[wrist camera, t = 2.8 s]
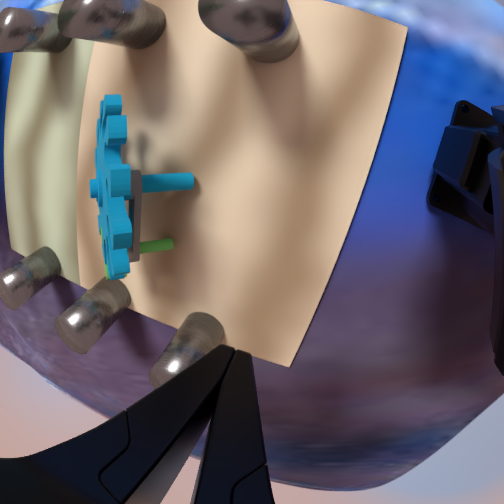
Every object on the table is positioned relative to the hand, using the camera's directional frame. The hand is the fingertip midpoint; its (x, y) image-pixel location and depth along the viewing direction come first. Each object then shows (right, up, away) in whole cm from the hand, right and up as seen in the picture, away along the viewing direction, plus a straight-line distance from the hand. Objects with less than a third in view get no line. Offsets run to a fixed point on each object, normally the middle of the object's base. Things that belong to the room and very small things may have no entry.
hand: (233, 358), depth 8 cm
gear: (-6, +7, +11) cm, 15 cm away
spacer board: (-8, +9, +11) cm, 16 cm away
